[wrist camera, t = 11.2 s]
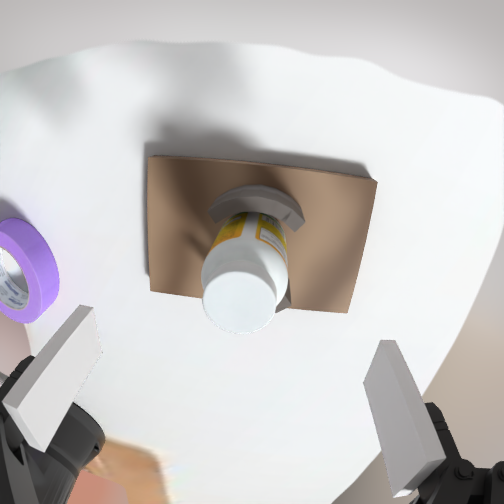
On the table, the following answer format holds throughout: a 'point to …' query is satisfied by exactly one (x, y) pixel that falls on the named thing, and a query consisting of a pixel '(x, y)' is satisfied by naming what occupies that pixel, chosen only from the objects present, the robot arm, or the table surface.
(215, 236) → the collar board
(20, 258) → the masking tape
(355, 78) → the table surface
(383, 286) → the table surface
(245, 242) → the supplement bottle
